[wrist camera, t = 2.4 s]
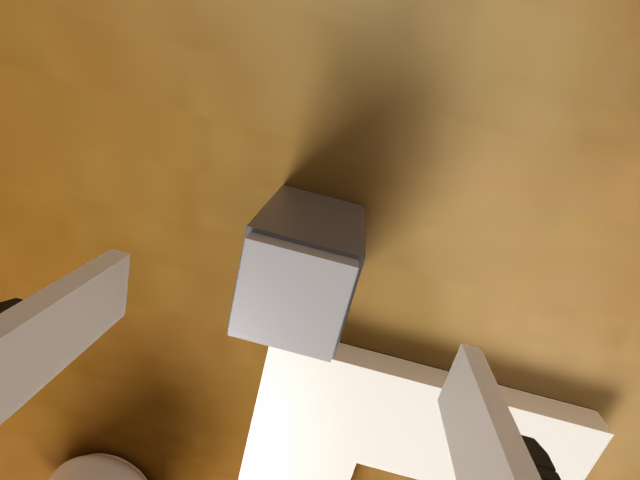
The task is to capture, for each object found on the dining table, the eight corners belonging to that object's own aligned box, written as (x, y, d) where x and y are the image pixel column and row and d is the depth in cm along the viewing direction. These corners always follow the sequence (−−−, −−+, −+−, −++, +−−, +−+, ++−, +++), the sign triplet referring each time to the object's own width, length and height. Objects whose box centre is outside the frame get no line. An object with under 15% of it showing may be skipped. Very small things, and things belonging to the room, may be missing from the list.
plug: (283, 184, 24) (241, 232, 16) (365, 206, 24) (365, 264, 16) (267, 259, 26) (222, 337, 18) (343, 280, 26) (333, 367, 18)
